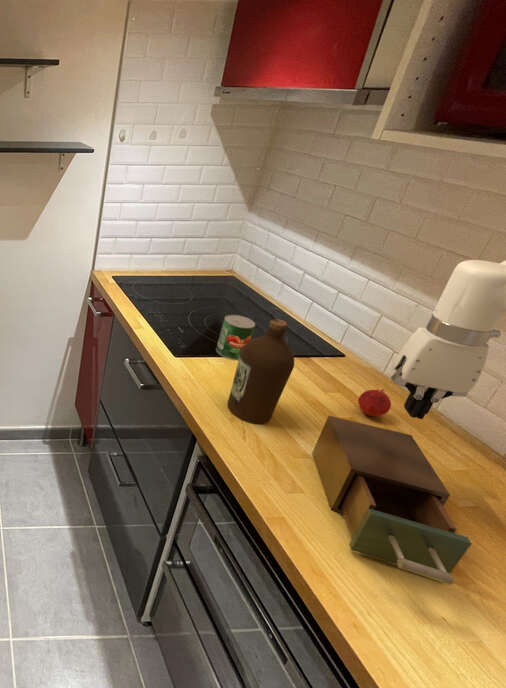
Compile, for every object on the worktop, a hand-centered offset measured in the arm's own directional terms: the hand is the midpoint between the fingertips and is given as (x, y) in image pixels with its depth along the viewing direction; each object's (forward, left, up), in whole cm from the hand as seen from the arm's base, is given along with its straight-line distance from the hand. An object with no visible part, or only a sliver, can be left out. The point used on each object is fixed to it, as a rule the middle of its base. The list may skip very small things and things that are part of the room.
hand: (413, 413), depth 85 cm
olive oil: (+23, -11, -16) cm, 30 cm away
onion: (-4, -22, -16) cm, 28 cm away
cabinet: (+5, +7, -16) cm, 18 cm away
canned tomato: (+25, -39, -16) cm, 49 cm away
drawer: (+5, +19, -15) cm, 25 cm away
